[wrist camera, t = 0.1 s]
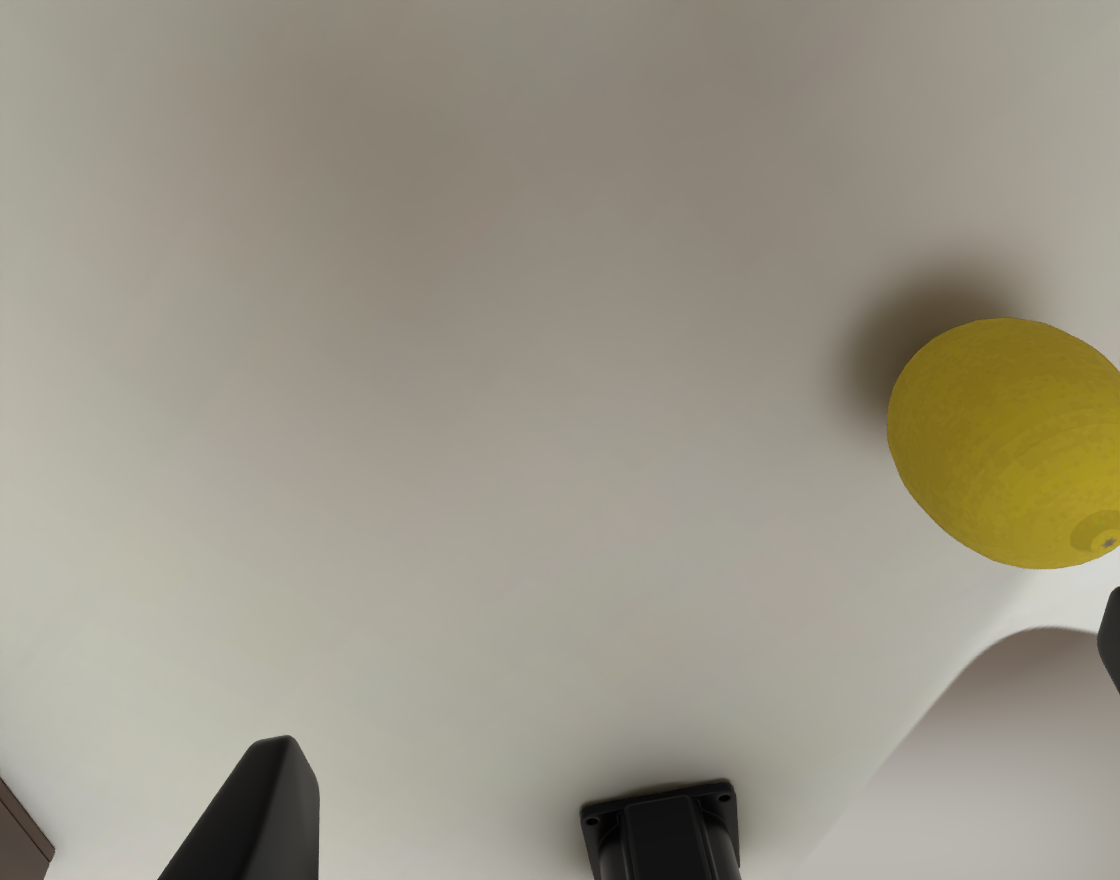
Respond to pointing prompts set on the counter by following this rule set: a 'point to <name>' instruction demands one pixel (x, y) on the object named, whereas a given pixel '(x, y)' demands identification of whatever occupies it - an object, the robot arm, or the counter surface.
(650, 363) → the counter surface
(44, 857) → the crate
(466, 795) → the counter surface
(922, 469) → the lemon
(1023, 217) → the counter surface
